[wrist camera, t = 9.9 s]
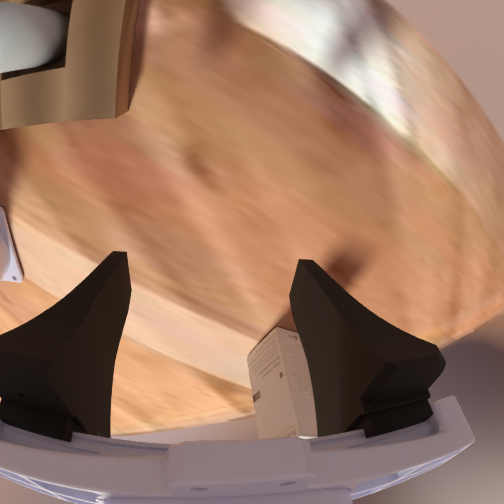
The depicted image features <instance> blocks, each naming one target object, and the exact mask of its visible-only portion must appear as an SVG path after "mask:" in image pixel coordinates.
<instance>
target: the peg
mask: <svg viewBox="0 0 504 504" xmlns="http://www.w3.org/2000/svg"><path fill="white" fill-rule="evenodd" d="M69 22H70V15H68V14H66V13H64V12H60V11H55V10H51V9H46V8H41V7H36V6H30V5H24V4H18V3H11V2H0V73H3V72H9V71H14V70H20V69H27V68H34V67H41V66H49V65H52V64H55V63H57V62H58V61H60V60H61V59H62V58H63V57H64V56H65V55H66V49H67V39H68V30H69Z"/></svg>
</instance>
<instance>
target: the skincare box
mask: <svg viewBox="0 0 504 504" xmlns="http://www.w3.org/2000/svg"><path fill="white" fill-rule="evenodd" d="M247 362H248V368H249V375H250V382H251V388H252V395H253V402H254V407H255V414H256V420H257V426H258V432H259V438H260V439H265V438H277V437H299V438H302V439H309V438H316V437H318V434H317V422H316V413H315V404H314V397H313V390H312V384H311V378H310V373H309V368H308V363H307V359H306V356H305V353H304V350H303V346H302V343H301V340H300V337H299V334H298V333H296V332H293V331H290V330H287V329H283V328H280V327H276V328H275V329H273V330H272V331H271V332H270V333H269V334H268V335H267V336H266V337H265V338H264V339H263V340H262V341H261V342H260V343H259V345H258V346H257V347H256V348H255V349H254V350H253V351H252V352H251V353H250V355H249V356H248V358H247Z"/></svg>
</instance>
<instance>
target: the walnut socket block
mask: <svg viewBox="0 0 504 504" xmlns="http://www.w3.org/2000/svg"><path fill="white" fill-rule="evenodd" d="M0 2H11V3H18V4H24V5H30V6H36V7H41V8H46V9H51V10H55V11H60V12H64V13H66V14H68V15H70V22H69V30H68V39H67V49H66V55H65V56H64V57H63V58H62V59H61V60H60V61H58V62H57V63H55V64H52V65H49V66H41V67H34V68H27V69H20V70H14V71H9V72H3V73H0V130H3V129H9V128H16V127H22V126H29V125H37V124H45V123H54V122H64V121H76V120H91V119H112V118H117V117H118V116H120V115H122V114H124V113H125V112H127V111H128V106H129V87H130V72H131V60H132V50H133V41H134V32H135V25H136V17H137V11H138V4H139V0H0Z"/></svg>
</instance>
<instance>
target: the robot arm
mask: <svg viewBox="0 0 504 504" xmlns="http://www.w3.org/2000/svg"><path fill="white" fill-rule="evenodd" d="M23 279H24V278H23V274H22V271H21V268H20V265H19V262H18V259H17V256H16V253H15V249H14V246H13V242H12V239H11V235H10V231H9V228H8V224H7V220H6V215H5V211H4V209H3V208H2V207H1V206H0V281H1V280H3V281H12V282H22V281H23ZM131 291H132V289H131V282H130V275H129V267H128V259H127V252H120V251H113V252H112V253H111V254H110V255H108V256H107V257H106V258H105V259H104V260H103V261H102V262H101V263H100V264H99V265H98V266H97V267H96V268H95V269H94V270H93V271H92V272H91V273H90V274H89V275H88V276H87V277H86V278H85V279H84V280H83V281H82V282H81V283H80V284H79V285H78V286H77V287H75V288H74V289H73V290H72V291H71V292H70V293H69V294H68V295H66V296H65V297H64V298H63V299H61V300H60V301H59V302H57V303H56V304H55V305H53V306H52V307H50V308H49V309H47V310H46V311H44V312H43V313H41V314H40V315H38V316H37V317H35V318H33V319H32V320H30V321H28V322H26V323H25V324H23V325H21V326H19V327H17V328H15V329H13V330H11V331H8V332H6V333H4V334H1V335H0V397H1V398H2V399H1V402H0V476H2V477H4V478H6V479H8V480H11V481H13V482H16V483H18V484H21V485H23V486H26V487H28V488H31V489H33V490H36V491H39V492H41V493H44V494H47V495H50V496H53V497H56V498H59V499H62V500H65V501H69V502H72V503H76V504H353V503H352V500H353V499H356V498H360V497H362V496H366V495H369V494H372V493H374V492H377V491H380V490H383V489H385V488H388V487H391V486H393V485H396V484H398V483H401V482H403V481H406V480H408V479H410V478H413V477H415V476H417V475H420V474H422V473H424V472H426V471H429V470H431V469H433V468H435V467H437V466H439V465H441V464H443V463H445V462H446V461H448V460H449V459H451V458H452V457H454V456H455V455H457V454H458V453H459V452H461V451H462V450H464V449H465V448H466V447H468V446H469V445H471V444H472V443H474V442H475V438H474V436H473V433H472V431H471V429H470V427H469V425H468V423H467V420H466V418H465V416H464V414H463V412H462V410H461V408H460V406H459V404H458V402H457V400H456V398H455V396H450V397H447V398H444V399H441V400H438V401H436V402H434V403H432V404H431V405H430V404H429V402H428V400H427V399H429V398H430V393H429V391H428V388H429V387H430V386H431V385H432V384H433V383H434V382H435V381H436V379H437V378H438V377H439V376H440V375H441V373H442V372H443V370H444V367H445V364H446V361H445V359H444V357H443V356H442V354H441V352H440V350H439V349H438V347H437V345H435V344H432V343H430V342H427V341H425V340H422V339H419V338H417V337H415V336H413V335H411V334H408V333H406V332H404V331H402V330H401V329H399V328H397V327H395V326H393V325H392V324H390V323H388V322H387V321H385V320H383V319H382V318H380V317H379V316H377V315H376V314H374V313H373V312H371V311H370V310H369V309H367V308H366V307H364V306H363V305H362V304H361V303H359V302H358V301H357V300H356V299H355V298H353V297H352V296H351V295H350V294H349V293H348V292H346V291H345V290H344V289H343V288H342V287H341V286H340V285H339V284H338V283H337V282H335V281H334V280H333V279H332V278H331V277H330V276H329V275H328V274H327V273H326V272H325V271H324V270H323V269H322V268H321V267H320V266H319V265H318V264H317V263H315V262H314V261H313V260H305V259H299V261H298V265H297V268H296V272H295V276H294V280H293V283H292V287H291V291H290V294H289V297H290V304H291V309H292V315H293V318H294V322H295V325H296V328H297V331H298V334H299V337H300V340H301V343H302V346H303V350H304V353H305V356H306V359H307V363H308V368H309V373H310V378H311V384H312V390H313V397H314V404H315V413H316V422H317V434H318V437H316V438H309V439H302V438H299V437H277V438H265V439H250V440H218V441H205V440H204V441H202V440H201V441H184V442H181V443H177V444H174V445H173V444H158V443H146V442H136V441H127V440H119V439H112V438H110V416H111V395H112V383H113V374H114V366H115V359H116V354H117V350H118V346H119V343H120V339H121V335H122V332H123V328H124V324H125V321H126V317H127V314H128V310H129V304H130V297H131Z"/></svg>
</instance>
